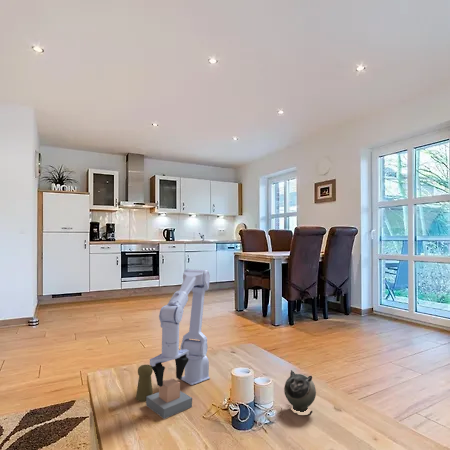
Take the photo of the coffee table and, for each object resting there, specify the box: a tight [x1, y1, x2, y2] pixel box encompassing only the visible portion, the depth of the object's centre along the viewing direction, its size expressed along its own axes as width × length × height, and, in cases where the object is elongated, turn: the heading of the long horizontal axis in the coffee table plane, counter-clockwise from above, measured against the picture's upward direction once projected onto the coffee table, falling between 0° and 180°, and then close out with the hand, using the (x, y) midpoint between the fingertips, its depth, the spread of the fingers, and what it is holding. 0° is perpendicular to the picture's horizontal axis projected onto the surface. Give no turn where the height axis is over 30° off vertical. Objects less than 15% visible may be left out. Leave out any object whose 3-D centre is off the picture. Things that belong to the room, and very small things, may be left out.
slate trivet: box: [145, 390, 193, 420], centre depth 109 cm, size 11×11×3 cm
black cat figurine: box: [283, 369, 317, 412], centre depth 108 cm, size 10×12×10 cm
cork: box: [135, 364, 154, 402], centre depth 115 cm, size 6×6×11 cm
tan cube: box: [158, 377, 181, 403], centre depth 109 cm, size 5×5×5 cm
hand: (169, 382), depth 109 cm, fingers open, 7 cm apart
